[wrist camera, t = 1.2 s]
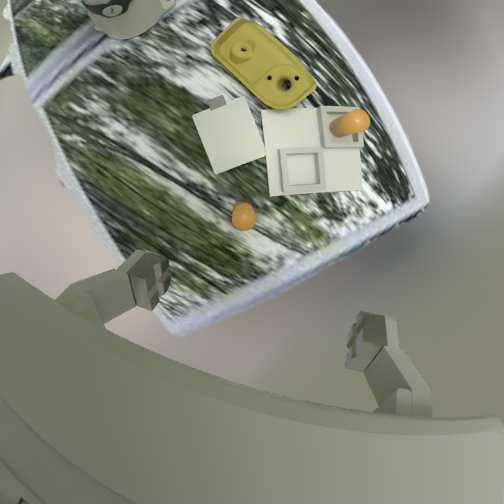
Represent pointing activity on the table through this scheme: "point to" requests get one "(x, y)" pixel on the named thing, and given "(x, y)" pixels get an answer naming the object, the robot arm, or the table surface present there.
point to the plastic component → (262, 64)
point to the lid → (229, 133)
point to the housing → (313, 149)
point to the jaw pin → (243, 215)
